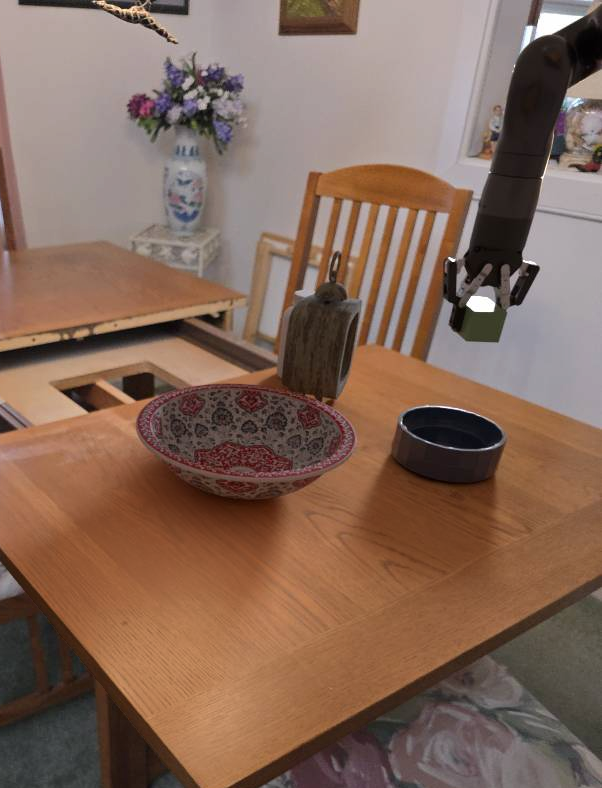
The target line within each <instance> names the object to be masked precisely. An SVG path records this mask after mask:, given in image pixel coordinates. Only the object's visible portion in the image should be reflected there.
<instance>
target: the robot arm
mask: <svg viewBox="0 0 602 788" xmlns="http://www.w3.org/2000/svg"><path fill="white" fill-rule="evenodd" d="M512 68H513V69H512V72H511V76H510V81H509V85H508V90H507V96H506V101H505V106H504V111H503V118H502V125H501V129H500V132H499V135H498V138H497V140H496V144H495V147H494V152H493V155H492V160H491V163H490V168H489V171H488V175H487V177H486V180H485V183H484V186H483V188H482V192H481V195H480V199H479V201H478V203H477V210H476V214H475V219H474V223H473V227H472V232H471V235H470V239H469V245H468V249H467V250H466V252H465V253H464V254H463V256H461V257H457V258H452V257H445V258H444V260H443V262H442V298H443V299H444V300H445V301H447V302H448V303H449V304H452V308H451V312H450V317H449V320H448V324H449V325H450V326H451V327H450V326H449V325H448V326H449V327H450V329H451V330H452V331H453V332H454V333H456V332H460V331H461V327H462V323H463V320H464V316H465V312H466V308H465V306H466V305H467V303H468V302H469V300H470V298H471V297H473V296H474V295H475V294H476V293H477V292H478V290H479V289H480V288H485V287H492V289H493V292H494V303H495V304H497V305H498V306H499V307H501V308H502V309H503V310H505V311H506V312H507V310H508V309H509V308H511V307H514V306H517V307H519V306H521V305H522V304H523V302H524V301H525V299H526V297H527V295H528V293H529V291H530V289H531V287H532V285H533V284H534V282H535V280H536V278H537V276H538V275H539V272H540V270H541V266H539V265H538V264H537V263H535V262H533V261H531V260H528V261H526V260H524V257H523V252H524V249H525V247H526V245H527V241H528V237H529V235H530V232H531V229H532V228H531V227H532V224H533V221H534V218H535V214H536V211H537V207H538V204H539V201H540V196H541V191H542V185H543V180H544V177H545V173H546V169H547V167H548V166H547V165H548V163H549V159H550V156H551V152H552V148H553V142H554V138H555V137H554V136H555V129H556V125H557V124H558V123H557V122H558V119H559V117H560V113H561V111H562V108H563V105H564V102H565V98H566V95H567V93H568V90H570V89H571V88H574V86H576V85H578V84H580V83H581V82H584V81H585V80H587V79H588V78H590V77H591V76H593V75H595V74H597V73H598V72H600V71H601V70H602V3H600V4H598V6H597V7H596V8H594V9H593V10H592V11H590V12H589V13H588V14H586V15H584V16H582V17H580V18H579V19H578V18H577V20H575V21H573V22H571V23H569V24H568V25H566V26H564V27H562V28H561V29H559V30H556V31H555V32H553V33H551V34H544V35H542V36H539V37H537V38H535V39H533V40H531V42H529V43H528V44H527V45H526V46H524V48H523V49H522V50H521V51H520V53H519V55H518V56H517V59H516V60H515V62H514V66H513V67H512ZM463 267H464V269H465V272H466V275H464V278H463V279H462V281H461V282H460V285H459V286H460V287H459V288H458V290H457V283H458V275H459V274H460V273H461V271H462V268H463ZM516 272H518V273H517V274H518V277H517V279H516V281H515V283H514V285H513V287H512V289H511V281H510V279H511V277H512V276H513V275H514V274H515V273H516Z"/></svg>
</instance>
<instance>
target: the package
mask: <svg viewBox="0 0 602 788" xmlns="http://www.w3.org/2000/svg"><path fill="white" fill-rule="evenodd" d="M465 308H466V312H465V316H464V320H463V323H462V327H461V331H460V332H455V333H456V334H457V335H458V336H460V337H461V339H463V340H464V341H465V342H467V343H469V342H472V343H494V344H495V343H496V344H497V343H499V342H500V339H501V336H502V332H503V329H504V326H505V322H506V320H507V319H506V318H507V316H508V311H507V310H506V311H505V310H503V309H502V308H501V307H499V306H498V305H497V304H496V303H495V301H493V300H491V299H490V298H488V296H472V297H471V298H470V300H469V302H468V303H467V305H466V306H465ZM447 325H448V326H449V327H450V328H451V326H450V325H449V323H447Z"/></svg>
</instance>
